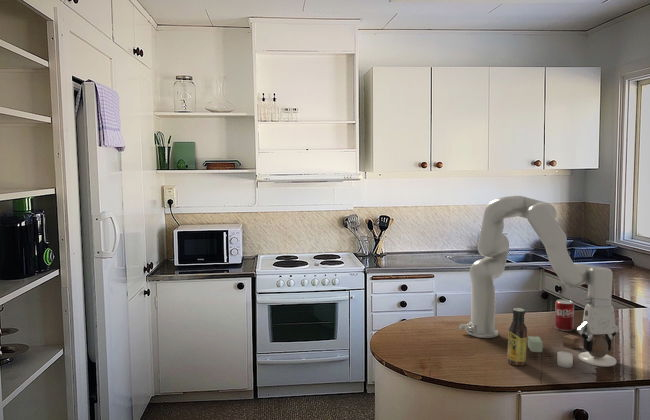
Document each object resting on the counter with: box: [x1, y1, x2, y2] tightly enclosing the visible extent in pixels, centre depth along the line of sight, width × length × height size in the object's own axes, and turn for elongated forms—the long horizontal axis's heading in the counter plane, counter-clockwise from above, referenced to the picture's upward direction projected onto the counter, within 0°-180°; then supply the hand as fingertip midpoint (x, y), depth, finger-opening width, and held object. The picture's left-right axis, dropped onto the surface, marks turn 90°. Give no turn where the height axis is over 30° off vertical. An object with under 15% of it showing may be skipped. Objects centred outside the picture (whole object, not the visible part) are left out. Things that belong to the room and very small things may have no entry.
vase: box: [589, 334, 609, 358], centre depth 183 cm, size 7×7×9 cm
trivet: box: [578, 351, 617, 368], centre depth 184 cm, size 12×12×1 cm
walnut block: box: [562, 334, 580, 350], centre depth 197 cm, size 4×4×4 cm
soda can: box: [554, 299, 575, 332], centre depth 218 cm, size 7×7×12 cm
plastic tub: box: [556, 350, 574, 369], centre depth 180 cm, size 5×5×4 cm
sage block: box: [527, 335, 544, 353], centre depth 195 cm, size 4×6×4 cm, turn 170°
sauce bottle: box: [506, 307, 528, 366], centre depth 181 cm, size 7×6×20 cm
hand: (597, 349), depth 183 cm, fingers closed on vase, 6 cm apart
